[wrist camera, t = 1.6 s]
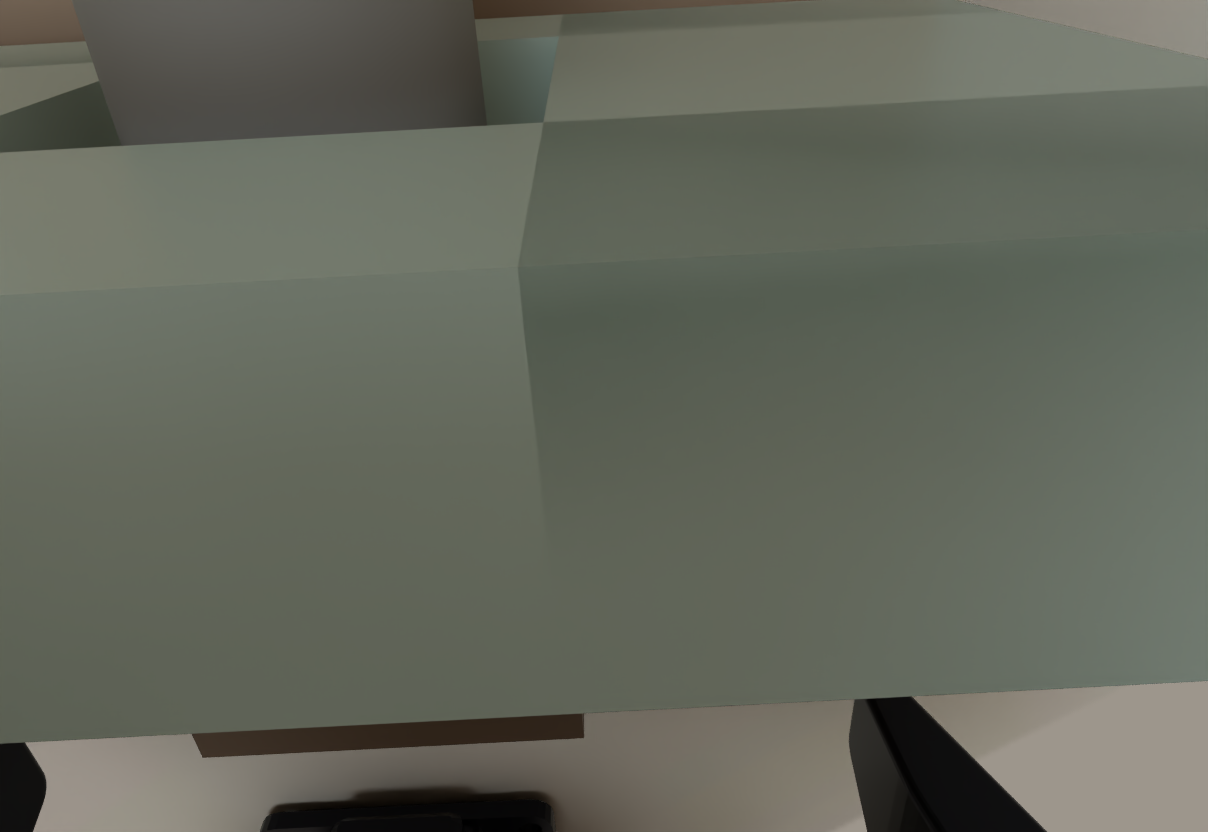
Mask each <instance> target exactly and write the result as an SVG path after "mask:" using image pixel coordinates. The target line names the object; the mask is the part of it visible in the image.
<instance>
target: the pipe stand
mask: <svg viewBox="0 0 1208 832" xmlns="http://www.w3.org/2000/svg"><path fill="white" fill-rule="evenodd" d="M792 1H810V0H0V46H10V45H28V44H46V43H64V42H81V41H86V44H87V47H88V50H89V53H90V56H91V59H92V61H93V64H94V67H95V70H96V73H97V76H98V79H99V82H100V85H101V88H102V91H103V94H104V97H105V100H106V102H107V105H108V108H109V111H110V114H111V117H112V120H113V123H114V126H115V129H116V132H117V135H118V138H119V141H120V143H121V146H129V145H147V144H165V143H183V142H201V141H219V140H237V139H255V138H273V137H291V136H309V135H327V134H345V133H363V132H381V131H399V130H417V129H435V128H453V127H471V126H487V120H486V111H485V103H484V94H483V86H482V77H481V69H480V60H479V52H478V43H477V35H476V26H475V19H490V18H508V17H525V16H543V15H561V14H579V13H596V12H614V11H632V10H650V9H667V8H685V7H703V6H721V5H738V4H756V3H774V2H792ZM192 736H193V738H194V740H195V742H196V744H197V746H198V749H199V751H200V753H201V755H202V757H203V758H206V757H226V756H245V755H264V754H284V753H303V752H322V751H342V750H361V749H380V748H400V747H419V746H438V745H458V744H477V743H496V742H516V741H535V740H554V739H574V738H584V713H581V714H562V715H542V716H523V717H504V718H485V719H465V720H446V721H427V722H408V723H388V724H369V725H350V726H330V727H311V728H292V729H273V730H253V731H234V732H215V733H196V734H192Z"/></svg>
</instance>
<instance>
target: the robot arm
mask: <svg viewBox="0 0 1208 832" xmlns="http://www.w3.org/2000/svg"><path fill="white" fill-rule="evenodd" d="M849 747H850V755H851V760H852V764H853V769H854V773H855V778H856V782H857V787H858V792H859V796H860V801H861V805H862V810H863V814H864V819H865V823H866V827H867V832H1047V831H1046V830H1045V829H1043V827H1042V826H1041V825H1040V824H1039V823H1038V822H1037V821H1036V820H1035V819H1034V818H1033V817H1032V816H1031V815H1030V814H1029V813H1028V812H1027V811H1026V810H1025V809H1024V808H1023V807H1022V806H1021V805H1020V804H1019V803H1018V802H1017V801H1016V800H1015V799H1014V798H1013V797H1012V796H1011V795H1010V794H1009V793H1007V791H1006V790H1004V788H1003V787H1002V786H1001V785H1000V784H999V783H998V782H997V781H996V780H995V779H994V778H993V777H992V776H991V775H990V774H989V773H988V772H987V771H986V770H985V769H984V768H983V767H982V766H981V765H980V764H979V763H978V762H977V761H976V760H975V759H974V758H973V757H972V756H971V755H970V754H969V753H968V752H967V751H966V750H965V749H964V748H963V747H962V746H961V745H960V744H959V743H958V742H957V741H956V740H955V739H954V738H953V737H952V736H951V735H950V734H949V733H948V732H947V731H946V730H945V729H944V728H943V727H942V726H941V725H940V724H939V723H938V722H937V721H936V720H935V719H934V718H933V717H932V716H931V715H930V714H929V713H928V712H927V711H926V710H925V709H924V708H923V707H922V706H921V705H920V704H919V703H918V702H917V701H916V700H915V699H914V698H913V697H912V696H909V697H889V698H870V699H855V700H854V707H853V713H852V719H851V726H850V732H849ZM45 794H46V778H45V775H44V772H43V771H42V769H41V767H40V766H39V764H38V763H37V761H36V759H35V758H34V756H33V755H32V753H31V751H30V750H29V748H28V747H27V745H26V743H25V742H22V743H3V744H0V832H33V830H34V827H35V824H36V822H37V819H38V816H39V813H40V810H41V808H42V805H43V802H44V799H45ZM260 832H556V827H555V819H554V812H553V810H552V808H551V806H549V805H548V804H547V803H545V802H542V801H539V800H530V799H528V800H508V801H489V802H469V803H450V804H430V805H411V806H391V807H372V808H352V809H333V810H314V811H294V812H279V813H273V814H271V815H269V816H267V817H266V818H265V820H264V821H263V824H262V827H261V830H260Z"/></svg>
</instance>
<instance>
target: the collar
mask: <svg viewBox="0 0 1208 832" xmlns="http://www.w3.org/2000/svg"><path fill="white" fill-rule="evenodd" d="M475 26H476V35H477V43H478V52H479V60H480V69H481V77H482V86H483V94H484V103H485V111H486V120H487V126H471V127H453V128H435V129H417V130H399V131H381V132H363V133H345V134H327V135H309V136H291V137H273V138H255V139H237V140H219V141H201V142H183V143H165V144H147V145H129V146H121V143H120V141H119V138H118V135H117V132H116V129H115V126H114V123H113V120H112V117H111V114H110V111H109V108H108V105H107V102H106V100H105V97H104V94H103V91H102V88H101V85H100V82H99V79H98V76H97V73H96V70H95V67H94V64H93V61H92V59H91V56H90V53H89V50H88V47H87V44H86V41H81V42H64V43H46V44H28V45H10V46H0V744H3V743H22V742H41V741H61V740H80V739H99V738H118V737H138V736H157V735H176V734H196V733H215V732H234V731H253V730H273V729H292V728H311V727H330V726H350V725H369V724H388V723H408V722H427V721H446V720H465V719H485V718H504V717H523V716H542V715H562V714H581V713H600V712H620V711H639V710H658V709H677V708H697V707H716V706H735V705H754V704H774V703H793V702H812V701H831V700H851V699H870V698H889V697H909V696H928V695H947V694H966V693H986V692H1005V691H1024V690H1043V689H1063V688H1082V687H1101V686H1121V685H1140V684H1158V683H1178V682H1196V681H1208V59H1205V58H1201V57H1197V56H1193V55H1188V54H1184V53H1180V52H1175V51H1171V50H1167V49H1163V48H1158V47H1154V46H1150V45H1146V44H1141V43H1137V42H1133V41H1128V40H1124V39H1120V38H1116V37H1111V36H1107V35H1103V34H1099V33H1094V32H1090V31H1086V30H1082V29H1077V28H1073V27H1069V26H1064V25H1060V24H1056V23H1052V22H1047V21H1043V20H1039V19H1035V18H1030V17H1026V16H1022V15H1017V14H1013V13H1009V12H1005V11H1000V10H996V9H992V8H988V7H983V6H979V5H975V4H970V3H966V2H962V1H958V0H810V1H792V2H774V3H756V4H738V5H721V6H703V7H685V8H667V9H650V10H632V11H614V12H596V13H579V14H561V15H543V16H525V17H508V18H490V19H475Z"/></svg>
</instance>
